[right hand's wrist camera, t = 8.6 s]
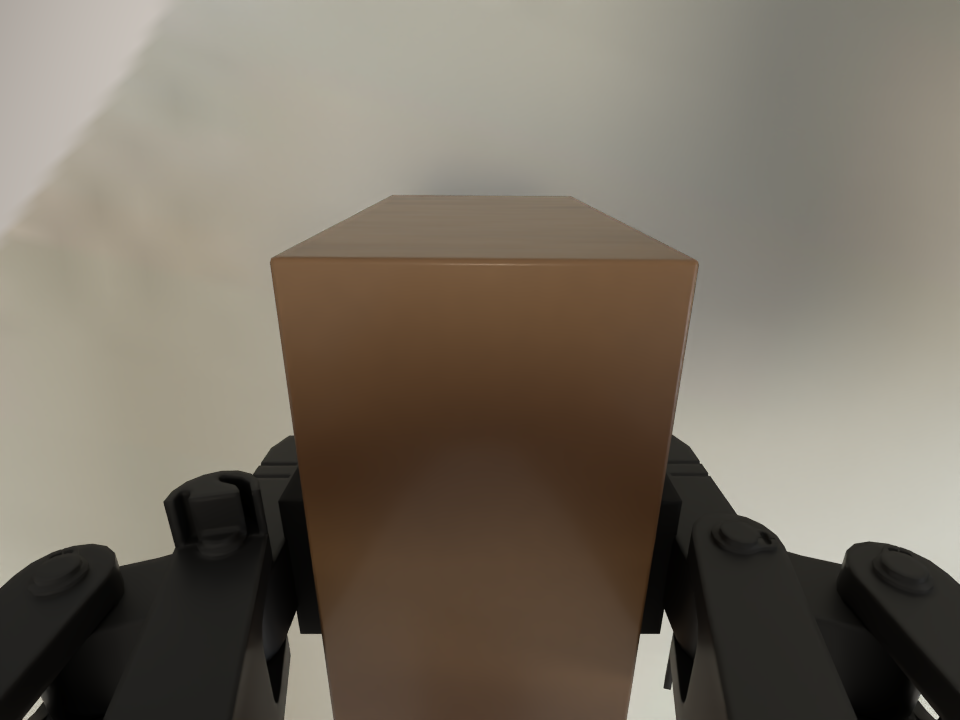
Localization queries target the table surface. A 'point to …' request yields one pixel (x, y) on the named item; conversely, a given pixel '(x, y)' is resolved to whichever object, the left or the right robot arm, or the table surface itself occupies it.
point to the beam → (482, 449)
